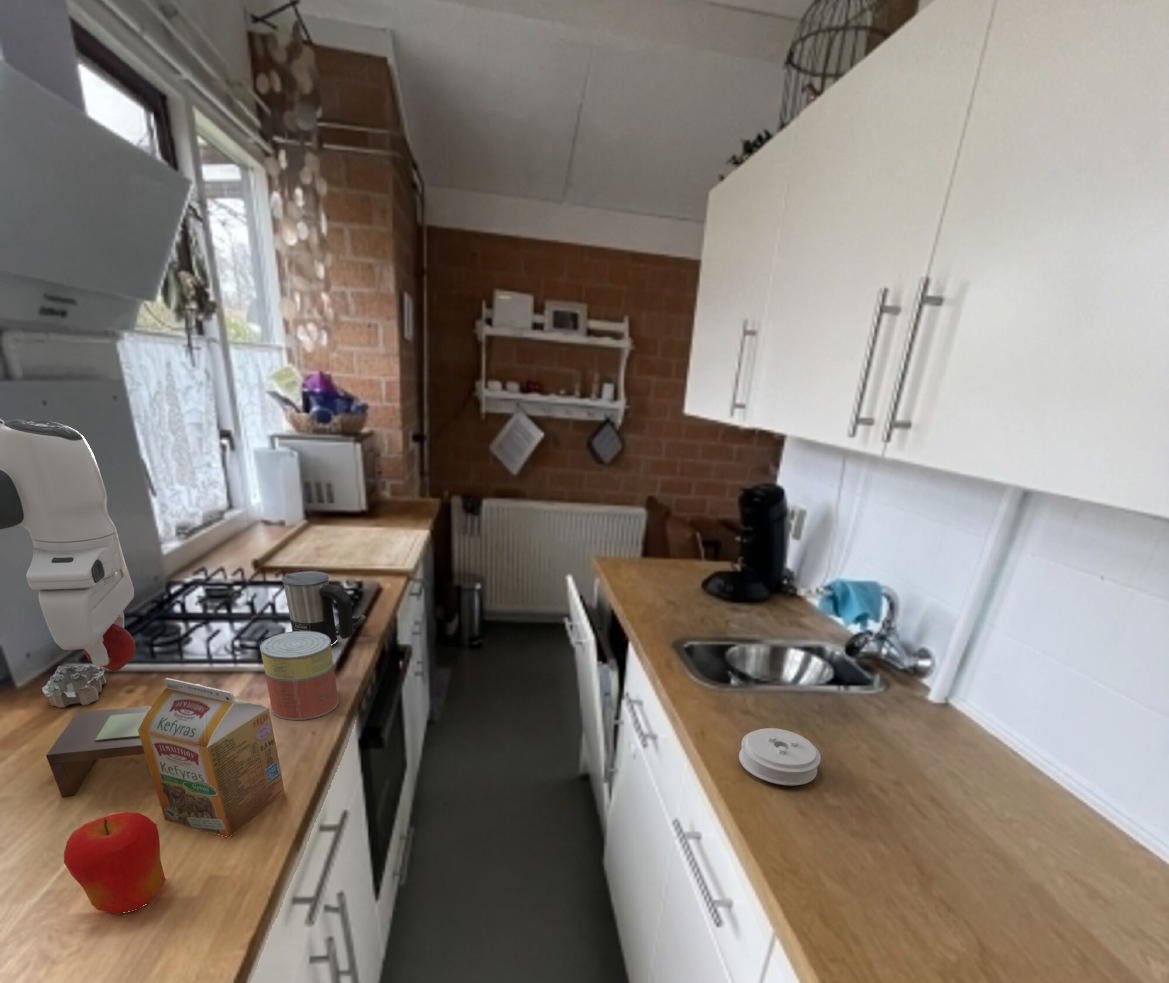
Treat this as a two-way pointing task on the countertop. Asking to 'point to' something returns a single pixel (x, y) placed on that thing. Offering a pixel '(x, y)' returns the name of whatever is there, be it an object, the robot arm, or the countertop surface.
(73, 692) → the egg carton
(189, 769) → the milk carton
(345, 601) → the milk frother
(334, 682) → the canned food
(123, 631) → the onion
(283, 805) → the countertop surface
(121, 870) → the apple
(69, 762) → the shelf
